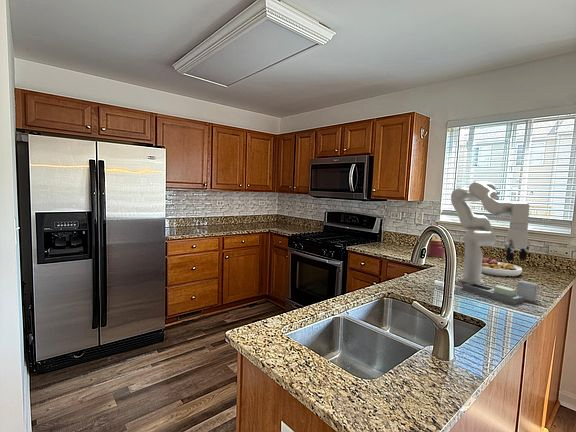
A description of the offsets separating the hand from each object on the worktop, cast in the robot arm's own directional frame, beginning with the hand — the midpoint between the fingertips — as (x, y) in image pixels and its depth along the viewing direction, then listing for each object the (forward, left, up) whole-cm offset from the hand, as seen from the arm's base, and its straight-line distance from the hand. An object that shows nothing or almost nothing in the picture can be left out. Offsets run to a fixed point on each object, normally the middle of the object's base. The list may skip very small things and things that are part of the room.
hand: (516, 259), depth 161 cm
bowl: (-53, -36, -21) cm, 68 cm away
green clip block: (+6, -1, -20) cm, 21 cm away
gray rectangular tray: (+6, -7, -20) cm, 22 cm away
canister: (-62, -89, -20) cm, 111 cm away
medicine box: (-5, +4, -21) cm, 21 cm away
